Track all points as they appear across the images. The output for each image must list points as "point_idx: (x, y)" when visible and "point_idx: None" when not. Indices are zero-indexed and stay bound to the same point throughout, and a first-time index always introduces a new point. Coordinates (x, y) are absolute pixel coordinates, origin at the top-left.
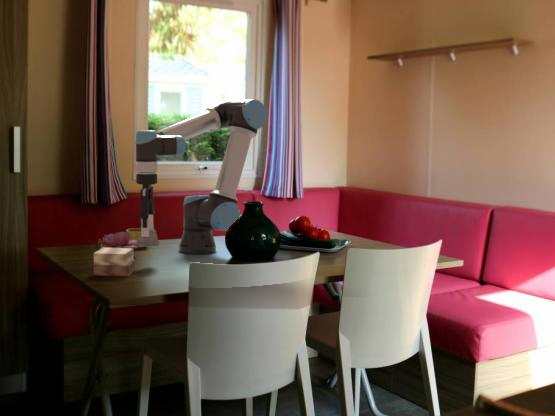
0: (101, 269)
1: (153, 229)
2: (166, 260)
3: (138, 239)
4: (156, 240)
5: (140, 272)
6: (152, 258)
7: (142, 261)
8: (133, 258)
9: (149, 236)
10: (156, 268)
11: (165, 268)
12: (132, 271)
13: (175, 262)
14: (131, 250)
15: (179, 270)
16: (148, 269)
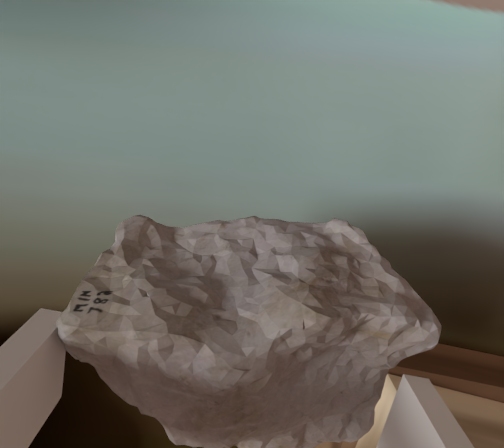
0: None
1: (215, 351)
2: (76, 111)
3: (319, 442)
4: (384, 266)
5: (459, 301)
6: (5, 206)
7: None
8: (391, 378)
9: (384, 367)
10: (356, 201)
11: (366, 141)
12: (439, 345)
13: (154, 48)
14: (480, 446)
15: (454, 45)
16: (379, 252)
